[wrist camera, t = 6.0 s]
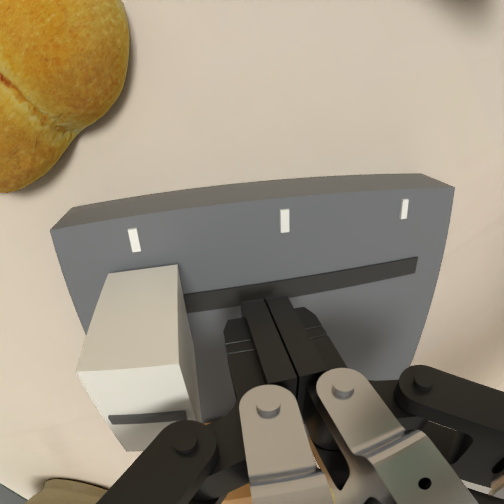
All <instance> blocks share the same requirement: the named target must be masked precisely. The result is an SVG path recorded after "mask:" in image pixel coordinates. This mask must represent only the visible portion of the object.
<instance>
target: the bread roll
mask: <svg viewBox="0 0 504 504" xmlns="http://www.w3.org/2000/svg"><path fill="white" fill-rule="evenodd" d="M129 43H130V36H129V27H128V21H127V14H126V11H125V7H124V4H123V2H122V1H121V0H0V193H9V192H13V191H17V190H20V189H22V188H24V187H26V186H28V185H29V184H31V183H33V182H34V181H36V180H38V179H39V178H41V177H42V176H43V175H45V174H46V173H47V172H48V171H49V170H50V169H51V168H52V167H53V166H54V165H55V164H56V163H57V161H58V160H59V159H60V157H61V156H62V155H63V153H64V152H65V150H66V149H67V148H68V146H69V145H70V143H71V142H72V140H73V139H74V138H75V137H76V136H77V135H78V134H79V133H80V132H81V131H82V130H83V129H84V128H86V127H88V126H89V125H91V124H93V123H94V122H96V121H97V120H98V119H100V118H101V117H102V116H104V115H105V114H106V113H107V112H108V110H109V109H110V108H111V107H112V105H113V104H114V103H115V101H116V100H117V99H118V97H119V95H120V93H121V91H122V89H123V86H124V82H125V78H126V73H127V68H128V60H129Z"/></svg>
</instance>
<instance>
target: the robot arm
mask: <svg viewBox="0 0 504 504" xmlns="http://www.w3.org/2000/svg"><path fill="white" fill-rule="evenodd" d="M241 317H242V318H236V319H230V320H227V323H226V326H225V328H224V331H223V332H224V339H225V346H226V353H227V360H228V366H229V371H230V375H231V380H232V384H233V389H234V393H235V398H236V403H235V405H234V407H233V408H232V410H231V411H230V412H229V413H228V414H227V415H225V416H224V417H222V418H220V419H218V420H216V421H214V422H212V423H209V424H207V425H205V424H203V423H201V422H198V421H194V420H181V421H177V422H174V423H171V424H169V425H168V426H166V427H165V428H164V429H163V430H162V431H161V432H160V433H159V434H158V435H157V436H156V438H155V439H154V440H153V441H152V442H151V443H150V444H149V446H148V447H147V448H146V449H145V450H144V451H143V452H142V454H141V455H140V456H139V457H138V458H137V459H136V460H135V461H134V462H133V464H132V465H131V466H130V467H129V468H128V469H127V470H126V471H125V472H124V474H123V475H122V476H121V477H120V478H119V479H118V480H117V481H116V482H115V483H114V484H113V486H112V487H111V488H110V489H109V490H108V491H107V492H106V493H105V494H104V495H103V496H102V497H101V498H100V500H99V501H98V502H97V503H96V504H221V503H222V502H223V501H224V499H225V498H226V496H227V494H228V493H229V492H231V491H233V490H235V489H238V488H240V487H242V486H244V485H246V484H248V483H250V490H251V496H252V503H253V504H334V501H333V498H332V495H331V491H330V488H331V490H332V492H333V495H334V498H335V504H504V392H502V391H499V390H496V389H493V388H490V387H487V386H484V385H481V384H478V383H475V382H472V381H469V380H466V379H463V378H460V377H457V376H454V375H452V374H449V373H446V372H443V371H440V370H437V369H435V368H432V367H429V366H425V365H414V366H410V367H408V368H406V369H405V370H404V371H403V372H402V373H401V375H400V377H399V380H381V381H373V380H367V379H366V378H365V377H364V376H363V375H362V374H361V373H359V372H358V371H355V370H353V369H349V368H348V367H347V366H346V364H345V362H344V361H343V359H342V357H341V356H340V354H339V352H338V351H337V349H336V347H335V346H334V344H333V343H332V341H331V339H330V338H329V336H327V333H326V331H325V329H324V328H323V327H322V325H321V323H320V321H319V320H318V318H317V316H316V315H315V314H314V313H312V312H311V311H309V310H308V309H307V308H305V307H299V308H294V307H293V306H292V304H291V302H290V300H289V298H288V296H287V295H281V296H275V297H269V298H264V299H257V300H251V301H245V302H241ZM430 421H431V422H430ZM433 422H434V423H433ZM436 423H437V424H436ZM304 424H305V425H306V427H307V430H308V432H309V436H308V437H307V434H306V431H305V427H304ZM438 424H440V425H438ZM441 425H442V426H441ZM444 426H445V427H444ZM447 427H448V428H447ZM450 428H451V429H450ZM453 429H454V430H453ZM456 430H457V431H456ZM312 453H313V454H312ZM313 455H314V457H315V459H316V461H317V463H318V465H319V467H320V469H319V468H317V466H316V464H315V461H314V458H313ZM461 479H462V480H465V481H468V482H472V483H475V484H479V485H482V486H486V487H489V488H491V490H490V491H489V494H484V493H482V492H478V491H475V490H472V489H469V488H467V487H466V486H465V485H464V483H463V482H462V481H461ZM328 484H329V485H328ZM329 486H330V488H329Z"/></svg>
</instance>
